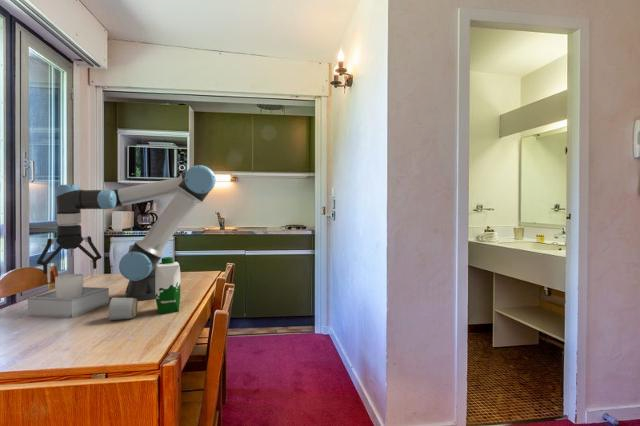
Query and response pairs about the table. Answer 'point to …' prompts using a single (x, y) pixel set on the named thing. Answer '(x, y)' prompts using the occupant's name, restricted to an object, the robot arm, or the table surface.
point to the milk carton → (167, 285)
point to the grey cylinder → (122, 308)
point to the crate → (67, 303)
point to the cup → (69, 286)
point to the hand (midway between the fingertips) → (71, 279)
